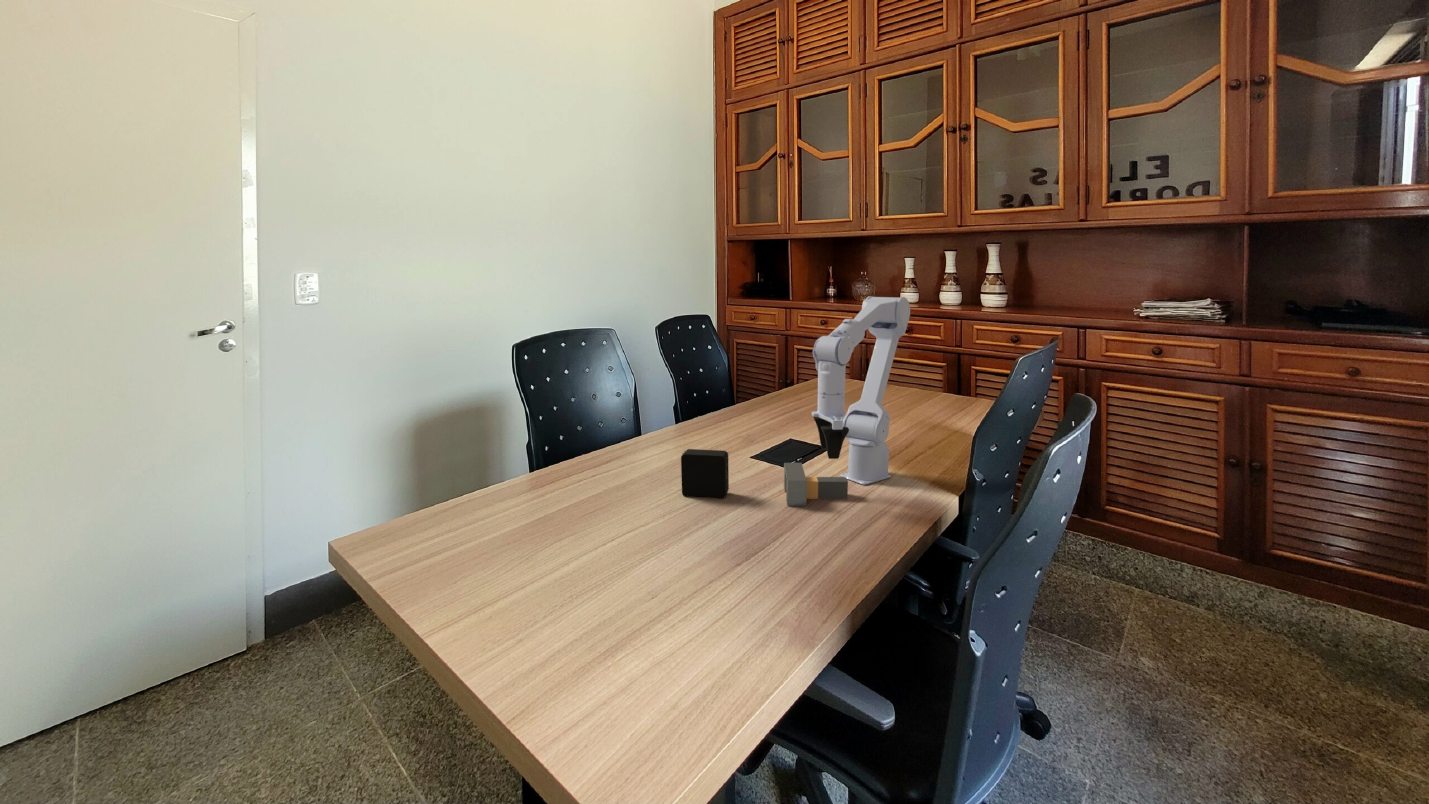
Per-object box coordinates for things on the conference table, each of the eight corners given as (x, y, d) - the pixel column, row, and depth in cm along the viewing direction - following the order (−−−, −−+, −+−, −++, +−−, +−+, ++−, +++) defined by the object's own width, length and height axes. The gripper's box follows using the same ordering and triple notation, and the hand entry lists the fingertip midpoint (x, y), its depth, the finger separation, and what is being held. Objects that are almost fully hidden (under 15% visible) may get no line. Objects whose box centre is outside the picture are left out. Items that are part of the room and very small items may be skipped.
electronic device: (725, 499, 135) (725, 456, 133) (681, 496, 137) (680, 454, 135) (728, 492, 139) (728, 450, 137) (686, 489, 141) (685, 448, 139)
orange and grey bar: (845, 493, 138) (845, 477, 137) (847, 498, 135) (847, 481, 134) (787, 493, 138) (787, 476, 137) (788, 498, 135) (788, 481, 134)
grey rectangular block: (801, 486, 142) (801, 462, 141) (806, 506, 131) (806, 480, 129) (783, 486, 143) (784, 462, 141) (787, 506, 131) (787, 480, 130)
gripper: (806, 386, 137) (806, 443, 141) (818, 400, 123) (817, 463, 126) (838, 385, 138) (836, 442, 141) (853, 399, 123) (851, 463, 126)
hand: (829, 452), depth 134 cm, fingers open, 7 cm apart
